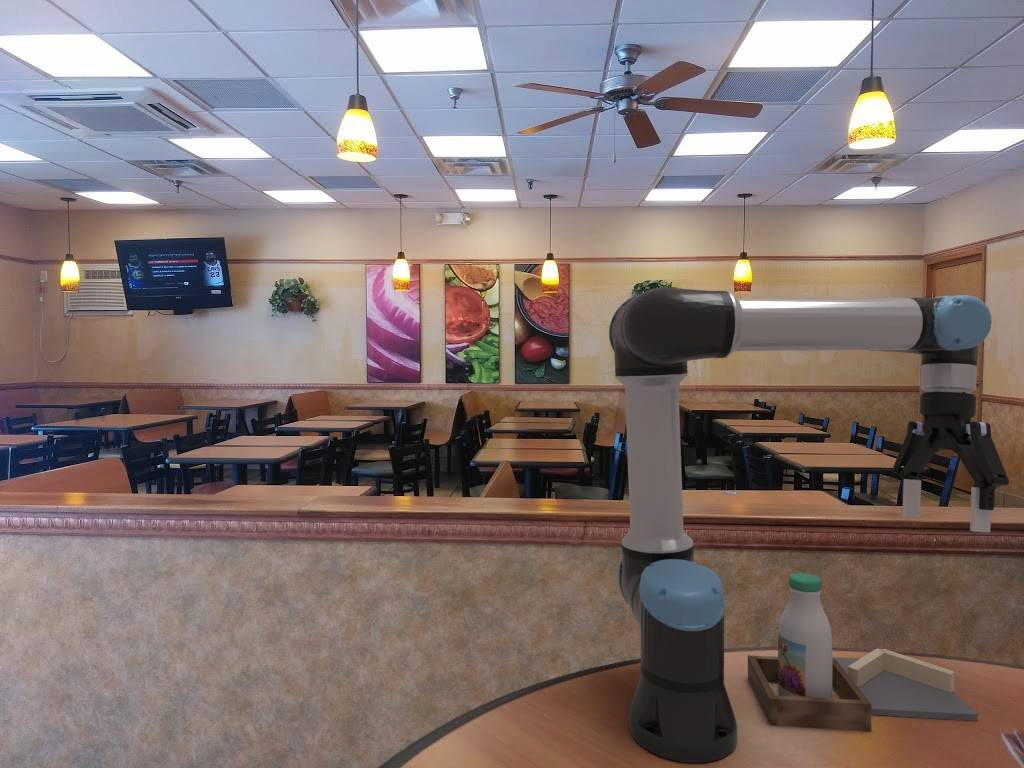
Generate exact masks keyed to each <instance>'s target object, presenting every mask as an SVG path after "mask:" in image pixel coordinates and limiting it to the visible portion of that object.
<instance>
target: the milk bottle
mask: <svg viewBox="0 0 1024 768" xmlns="http://www.w3.org/2000/svg"><path fill="white" fill-rule="evenodd" d="M822 583H823V582H822V579H821V578H820V577H819V576H817V575H815V574H813V573H812V574H811V573H807V572H806V573H805V572H796V573H795V572H794V573H791V574H790V575H789V576H788V585H789V587H788V589H789V591H790V595H789V599H788V600H787V601H788V602H787V604H786V606H785V608H784V609H783V612H782V614H781V616H780V620H779V623H778V624H779V625H778V638H777V639H778V641H777V643H778V644H777V648H778V649H777V650H778V651H777V657H778V683H777V696H793V697H811V698H830V699H833V687H832V657H833V635H832V627H831V624H830V622H829V621H830V620H829V618H828V616H827V615H826V613H825V610H824V608H823V605H822V602H821V597H820V595H821V594H822V587H823V586H822Z"/></svg>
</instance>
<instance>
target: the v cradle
mask: <svg viewBox="0 0 1024 768" xmlns="http://www.w3.org/2000/svg"><path fill="white" fill-rule="evenodd" d="M832 659H836V660H837V662H838V663H839V664H840V665H841V667H842V668H843V669H844V670H845V672H846V673H847V674H848V675H849V677H850V678H851V679H852V680H853V682H854V683H855V684H856V685H857V687H858V688H859V689H860V690H861V692H862V693H863V694H864V695H865V697H866V698H867V699H868V700H869V702H870V703H871V704H872V705H871V716H879V715H889V716H888V717H896V716H898V717H899V718H913V719H916V718H918V719H921V718H922V719H935V720H954V721H972V722H973V721H974V722H977V721H978V713H976V712H975V710H973V709H972V708H971V707H970V706H969V705H968V704H967V703H966V702H965V701H964V700H962V698H960V697H959V696H958V695H957V694H956V693H955V692H954V691H955V671H954V670H951V669H947V668H945V667H941V666H939V665H936V664H932V663H930V662H926V661H923V660H920V659H917V658H914V657H911V656H908V655H906V654H905V655H904V654H902V653H898V652H895V651H892V650H889V649H886V648H882V649H881V648H878V647H877V648H876V649H873V650H872V651H870V652H868V653H867V654H865V655H863V656H862V657H859V658H858V657H839V656H837V657H835V656H832ZM890 715H891V716H890Z"/></svg>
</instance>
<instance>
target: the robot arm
mask: <svg viewBox="0 0 1024 768" xmlns="http://www.w3.org/2000/svg"><path fill="white" fill-rule="evenodd" d="M992 323H993V322H992V315H991V311H990V308H989V307H988V305H987V304H986V303H985V302H984V301H983V300H981V299H980V298H978V297H977V296H973V295H970V294H968V295H967V294H964V295H963V294H962V295H960V294H959V295H958V294H951V295H942V296H935V297H735V296H734V294H732V293H731V292H730V291H728V290H706V289H705V290H704V289H688V288H682V287H681V288H678V287H665V286H662V287H656V288H652V289H649V290H646V291H644V292H642V293H640V294H637V295H635V296H632V297H630V298H628V299H627V300H626V301H624V302H623V303H621V304H620V306H619V307H618V308H617V309H616V311H615V312H614V314H613V315H612V318H611V320H610V324H609V328H608V329H609V330H608V339H609V342H610V346H611V349H612V351H613V353H614V355H613V356H614V376H615V377H614V378H615V379H616V381H618V383H620V384H621V385H622V386H623V388H624V395H625V396H624V397H625V398H624V399H625V422H626V448H627V450H626V451H627V472H628V473H627V474H628V475H627V476H628V477H627V478H628V499H629V501H628V503H629V506H628V507H629V526H630V527H629V528H630V529H629V532H627V533H626V534H625V535H624V536H623V538H622V539H621V560H620V562H619V566H618V572H617V573H618V574H617V577H618V578H617V579H618V587H619V590H620V593H621V595H622V597H623V599H624V601H625V602H626V604H627V605H628V606H629V608H630V610H631V612H632V614H633V616H634V618H635V620H636V622H637V624H638V626H639V631H640V676H639V679H638V682H637V685H636V688H635V691H634V694H633V697H632V700H631V702H630V706H629V709H628V710H629V711H628V725H629V726H628V728H629V732H630V735H631V736H632V738H633V739H634V740H635V742H637V743H638V744H639V745H640V746H641V747H642V748H644V749H646V750H647V751H648V750H649V752H650V751H651V752H650V753H652V752H653V754H654V753H655V754H654V755H657V756H659V757H662V758H664V759H668V760H671V761H675V762H676V761H677V762H681V763H682V762H683V763H696V764H697V763H699V764H700V763H701V764H702V763H708V762H715V761H717V760H720V759H723V758H724V757H727V756H728V755H730V754H731V753H732V752H733V751H734V750H735V748H736V746H737V743H738V725H737V719H736V715H735V713H734V711H733V710H734V709H733V706H732V704H731V700H730V698H729V695H728V692H727V689H726V686H725V685H726V684H725V612H726V601H725V600H726V598H725V595H724V585H723V582H722V580H721V578H720V577H719V576H718V574H717V573H715V572H714V571H713V570H712V569H710V568H709V567H707V566H705V565H702V564H701V565H700V564H698V563H697V562H696V561H695V553H694V540H693V539H692V538H691V537H690V536H689V535H688V534H687V533H686V532H685V530H684V514H683V512H684V511H683V510H684V509H683V505H684V504H683V482H682V480H683V478H682V454H681V452H682V451H681V449H682V448H681V447H682V446H681V423H680V395H679V393H680V392H679V390H680V389H679V386H680V384H681V383H682V382H683V381H684V380H685V379H686V377H688V371H689V370H688V362H689V361H696V360H697V361H698V360H704V359H726V358H728V357H730V356H731V355H732V354H733V353H734V352H767V351H768V352H779V351H781V352H782V351H783V352H784V351H786V352H789V351H791V352H792V351H797V352H799V351H800V352H801V351H802V352H803V351H809V352H810V351H812V352H813V351H815V352H816V351H817V352H818V351H870V352H874V351H877V352H890V353H905V354H915V355H916V354H917V355H921V370H920V386H919V387H920V389H921V390H922V391H924V392H922V393H921V394H920V395H919V413H920V415H921V416H923V417H924V421H923V422H921V421H911V420H910V421H909V422H908V425H907V433H906V434H905V438H904V440H903V443H902V444H901V447H900V450H899V452H898V455H897V457H896V459H895V462H894V464H893V467H892V470H891V471H892V473H893V474H894V475H898V476H899V477H900V479H901V497H902V515H901V516H902V517H901V518H906V519H915V520H917V519H919V520H920V519H921V498H922V495H921V494H922V480H921V478H920V474H921V473H922V472H923V471H924V469H925V468H926V466H927V465H928V464H929V462H930V461H931V459H932V458H933V457H934V456H935V454H936V453H937V452H940V451H941V450H944V451H948V450H949V451H952V452H953V453H955V454H956V455H957V457H958V459H960V461H961V463H962V464H963V466H964V468H965V469H966V470H967V472H968V474H969V475H970V477H971V478H972V480H973V481H974V484H973V485H972V486H973V487H972V486H971V487H970V488H971V489H970V490H971V492H970V493H971V494H970V519H969V520H970V521H969V531H971V532H979V533H991V525H992V524H991V523H992V522H991V520H992V519H991V518H992V511H994V508H995V496H996V495H995V492H996V489H997V488H998V487H1001V486H1008V485H1009V483H1010V480H1009V478H1008V476H1007V472H1006V470H1005V468H1004V467H1005V466H1003V465H1004V464H1003V463H1002V460H1001V458H1000V456H999V453H998V451H997V448H996V446H995V445H996V444H995V443H994V441H993V438H992V429H991V424H990V423H989V422H981V421H972V420H971V419H972V418H975V417H976V415H977V413H976V412H977V396H975V394H973V392H975V391H976V390H977V376H978V375H977V374H978V370H977V367H978V348H979V347H978V346H979V345H980V344H982V343H983V342H984V340H985V339H987V338H988V335H989V334H990V331H991V329H992Z"/></svg>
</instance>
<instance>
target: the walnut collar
mask: <svg viewBox="0 0 1024 768" xmlns="http://www.w3.org/2000/svg"><path fill="white" fill-rule="evenodd" d="M747 681H748V683H749V684H750V686H751V688H752V691H753V693H754V695H755V697H756V699H757V702H758V703H759V706H760V708H761V709H762V712H763V714H764V716H765V718H766V720H767V722H768V724H769V726H776V727H787V728H788V727H792V728H793V727H794V728H808V729H823V730H824V729H826V730H839V731H840V730H842V731H858V732H859V731H861V732H872V715H871V705H872V704H871V703H870V702H869V700H868V699H867V698H866V697H865V695H864V694H863V693H862V692H861V690H860V689H859V688H858V687H857V685H856V684H855V683H854V682H853V680H852V679H851V678H850V677H849V675H848V674H847V673H846V672H845V670H844V669H843V668H842V667H841V665H840V664H839V663H838V662H837V660H836V659H832V690H834V692H835V693H836V694H837V696H838V697H839V698H832V699H830V698H811V697H793V696H778V695H775V693H774V691H773V689H772V687H771V685H770V684H771V683H772V684H778V656H769V655H766V656H765V655H747Z"/></svg>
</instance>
